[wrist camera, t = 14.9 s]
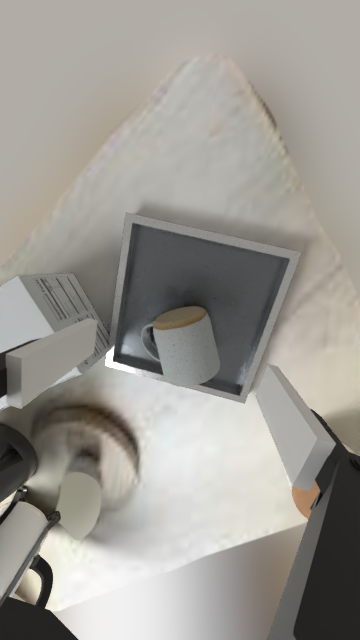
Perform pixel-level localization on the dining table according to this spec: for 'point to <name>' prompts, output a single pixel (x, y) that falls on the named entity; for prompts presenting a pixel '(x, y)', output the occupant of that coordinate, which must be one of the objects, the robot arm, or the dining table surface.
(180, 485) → the dining table surface
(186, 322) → the ceramic mug
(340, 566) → the robot arm
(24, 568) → the coffee press
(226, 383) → the square tray
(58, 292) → the supplement box
